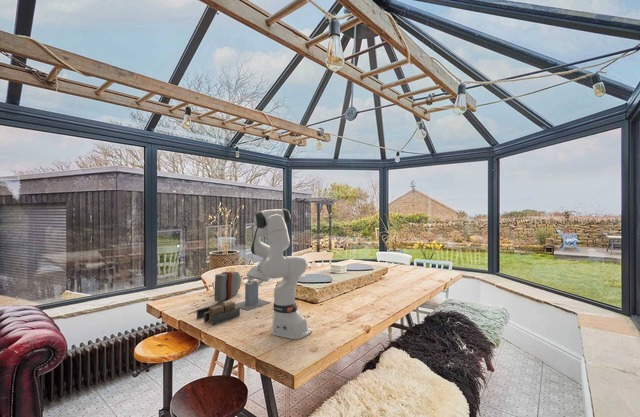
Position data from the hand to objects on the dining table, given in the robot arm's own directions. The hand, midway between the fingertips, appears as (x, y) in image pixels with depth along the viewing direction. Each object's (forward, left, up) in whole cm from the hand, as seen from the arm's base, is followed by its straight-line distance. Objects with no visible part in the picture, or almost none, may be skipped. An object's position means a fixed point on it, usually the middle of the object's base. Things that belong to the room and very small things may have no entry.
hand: (252, 284), depth 200 cm
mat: (0, +1, -13) cm, 13 cm away
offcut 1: (-8, +33, -13) cm, 36 cm away
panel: (0, +1, -13) cm, 13 cm away
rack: (-3, +29, -13) cm, 32 cm away
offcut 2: (-8, +25, -13) cm, 29 cm away
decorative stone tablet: (+25, +2, -14) cm, 29 cm away
